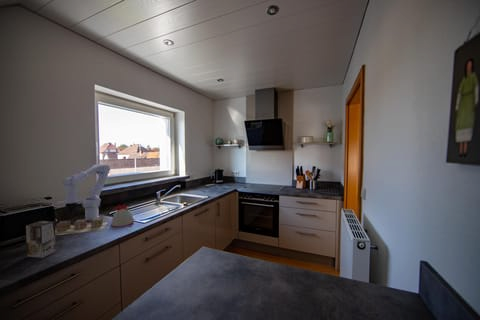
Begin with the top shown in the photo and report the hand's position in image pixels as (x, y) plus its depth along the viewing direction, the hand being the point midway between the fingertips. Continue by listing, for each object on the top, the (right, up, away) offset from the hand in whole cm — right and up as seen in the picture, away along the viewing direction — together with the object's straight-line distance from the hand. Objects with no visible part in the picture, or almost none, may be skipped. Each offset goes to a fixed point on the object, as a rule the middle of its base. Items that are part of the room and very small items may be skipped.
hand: (71, 214), depth 124 cm
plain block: (0, -9, -6) cm, 11 cm away
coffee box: (+14, -11, -31) cm, 36 cm away
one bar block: (+9, -9, -2) cm, 12 cm away
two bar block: (+17, -9, +1) cm, 19 cm away
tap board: (+9, -10, -2) cm, 13 cm away
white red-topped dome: (+30, -10, +8) cm, 33 cm away
